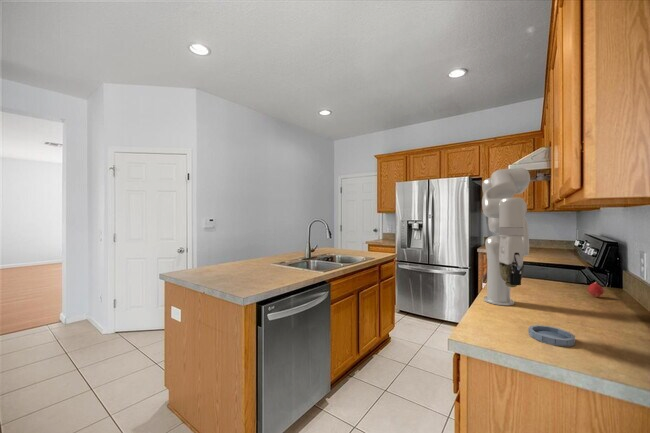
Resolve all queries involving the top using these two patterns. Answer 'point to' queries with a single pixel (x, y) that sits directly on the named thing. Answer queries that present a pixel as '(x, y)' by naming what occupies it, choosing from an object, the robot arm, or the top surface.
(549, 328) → the dish
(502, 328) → the top surface
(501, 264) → the cup
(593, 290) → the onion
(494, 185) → the robot arm
